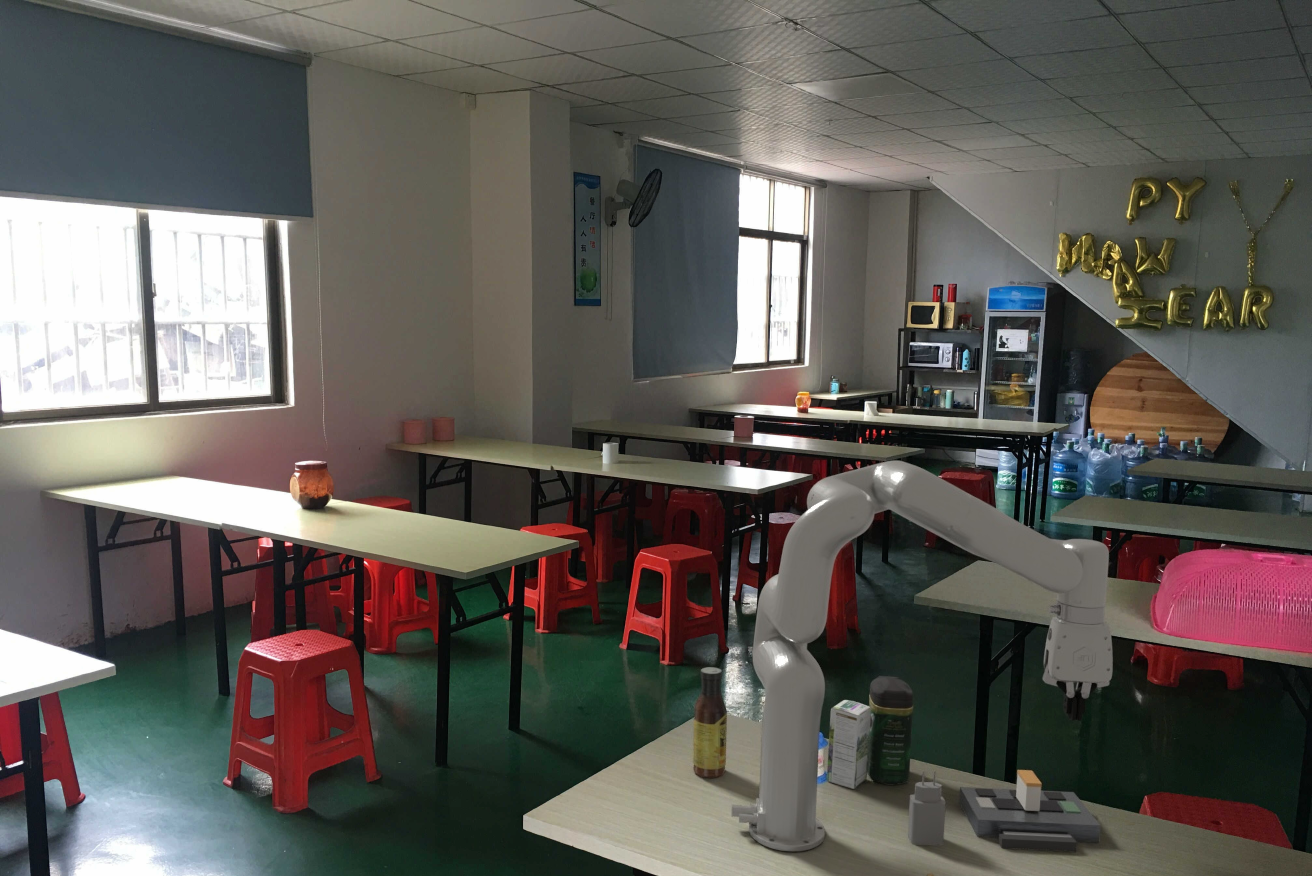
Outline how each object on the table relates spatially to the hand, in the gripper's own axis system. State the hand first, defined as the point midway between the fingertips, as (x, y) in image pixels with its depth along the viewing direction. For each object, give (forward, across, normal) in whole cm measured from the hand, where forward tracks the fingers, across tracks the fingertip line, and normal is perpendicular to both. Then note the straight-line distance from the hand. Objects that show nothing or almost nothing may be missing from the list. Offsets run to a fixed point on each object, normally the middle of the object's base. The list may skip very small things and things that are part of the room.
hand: (1073, 717), depth 167 cm
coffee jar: (+19, -28, +16) cm, 37 cm away
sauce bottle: (+19, -62, +14) cm, 66 cm away
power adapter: (+19, -26, -8) cm, 33 cm away
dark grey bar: (+19, -8, -9) cm, 22 cm away
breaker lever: (+16, -7, 0) cm, 17 cm away
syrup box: (+19, -36, +13) cm, 43 cm away
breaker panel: (+19, -7, 0) cm, 20 cm away
